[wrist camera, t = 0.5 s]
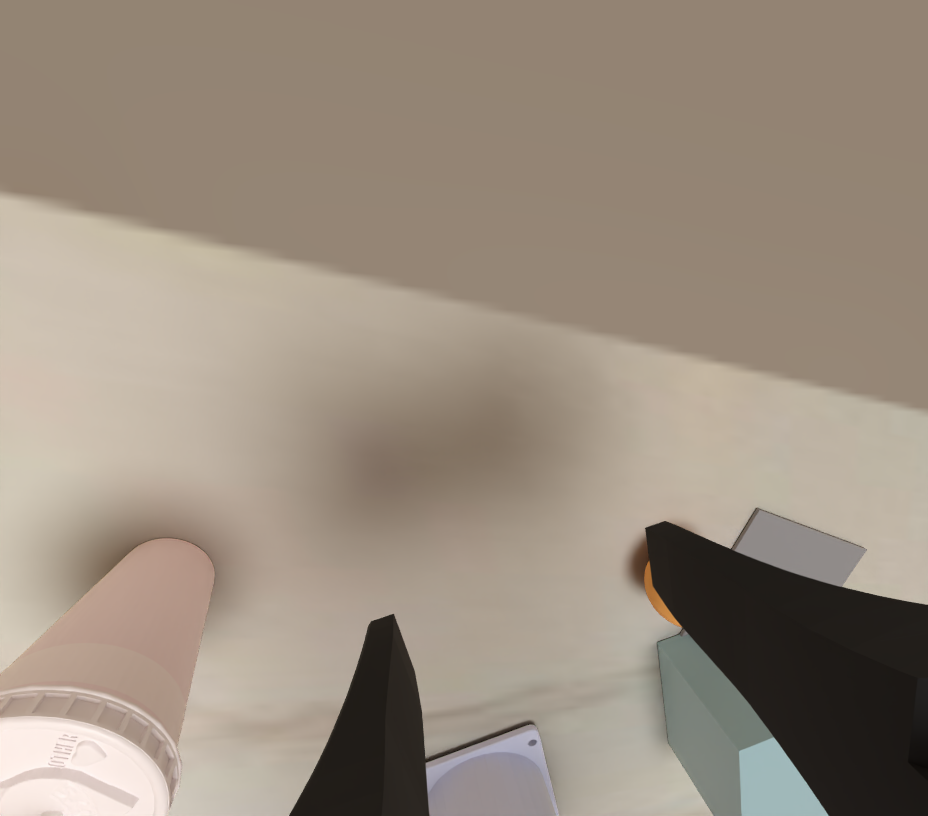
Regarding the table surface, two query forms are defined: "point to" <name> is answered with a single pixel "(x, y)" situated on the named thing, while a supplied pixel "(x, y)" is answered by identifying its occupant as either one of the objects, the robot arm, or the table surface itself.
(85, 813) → the smoothie
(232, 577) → the table surface
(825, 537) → the tape square
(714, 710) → the light blue upright block
